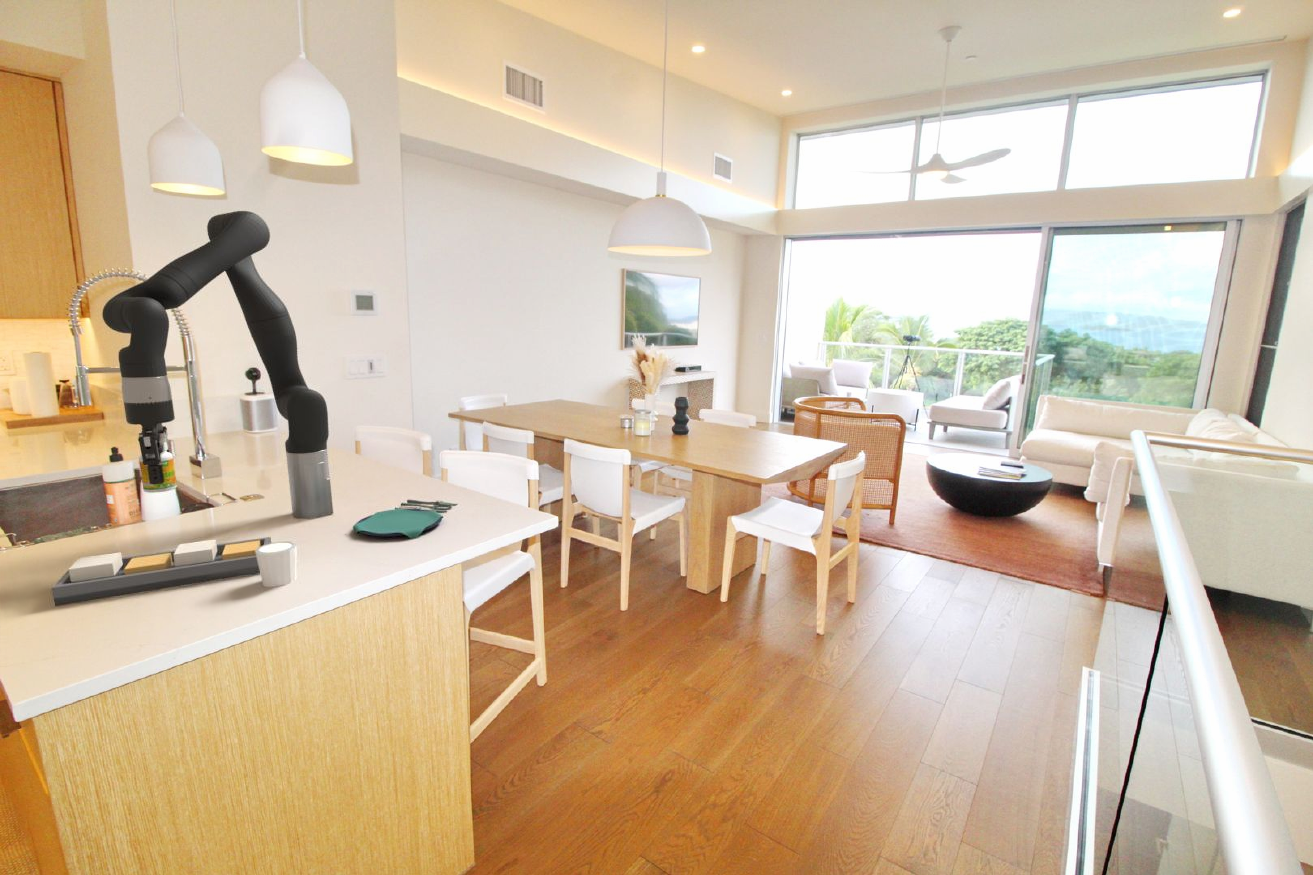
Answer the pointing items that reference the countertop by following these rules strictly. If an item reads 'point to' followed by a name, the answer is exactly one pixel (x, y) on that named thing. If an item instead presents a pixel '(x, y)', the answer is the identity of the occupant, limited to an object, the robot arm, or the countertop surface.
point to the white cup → (277, 563)
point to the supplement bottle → (167, 471)
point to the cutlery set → (403, 520)
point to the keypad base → (155, 577)
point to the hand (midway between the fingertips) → (160, 479)
